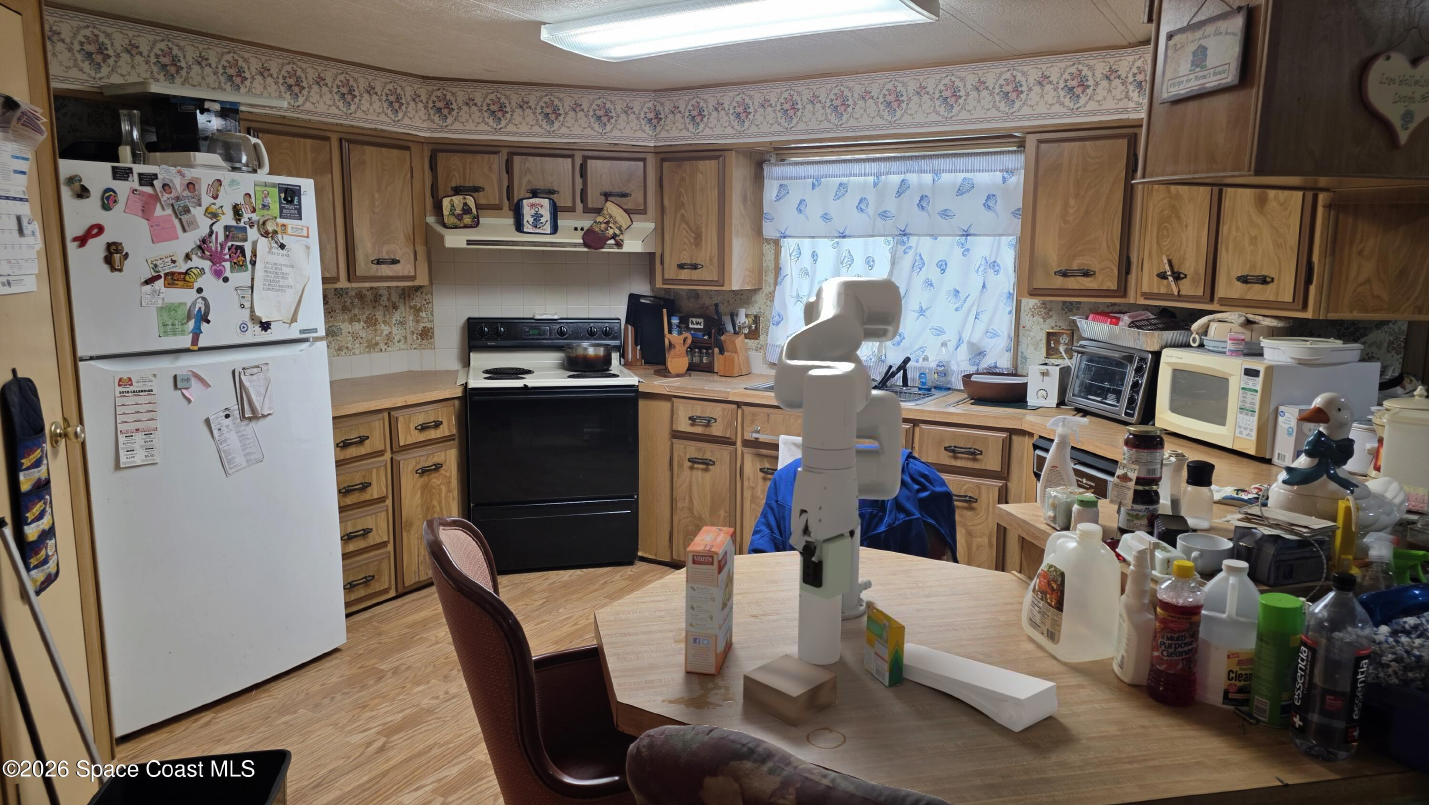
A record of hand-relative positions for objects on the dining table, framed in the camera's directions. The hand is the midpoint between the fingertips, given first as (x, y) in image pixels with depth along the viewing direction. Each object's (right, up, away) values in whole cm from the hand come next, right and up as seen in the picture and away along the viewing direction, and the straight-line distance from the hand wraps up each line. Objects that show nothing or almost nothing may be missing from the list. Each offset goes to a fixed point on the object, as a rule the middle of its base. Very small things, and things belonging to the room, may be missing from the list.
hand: (825, 579), depth 129 cm
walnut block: (-4, -20, +7) cm, 22 cm away
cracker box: (-17, -18, +23) cm, 33 cm away
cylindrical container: (+2, -18, +23) cm, 29 cm away
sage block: (0, -2, 0) cm, 2 cm away
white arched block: (+23, -20, +12) cm, 33 cm away
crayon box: (+11, -19, +16) cm, 27 cm away
